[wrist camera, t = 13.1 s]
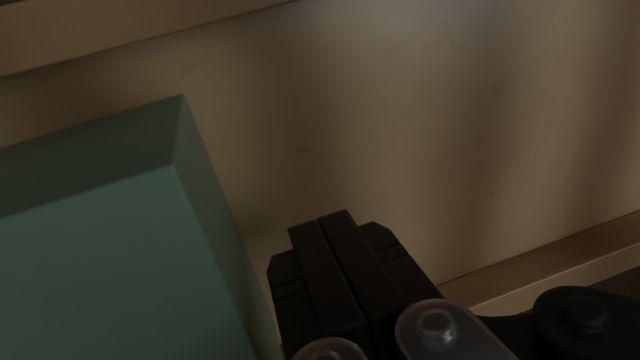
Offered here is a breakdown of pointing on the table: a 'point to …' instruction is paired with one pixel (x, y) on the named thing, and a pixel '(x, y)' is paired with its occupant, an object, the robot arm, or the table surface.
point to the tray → (375, 121)
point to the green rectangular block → (125, 247)
